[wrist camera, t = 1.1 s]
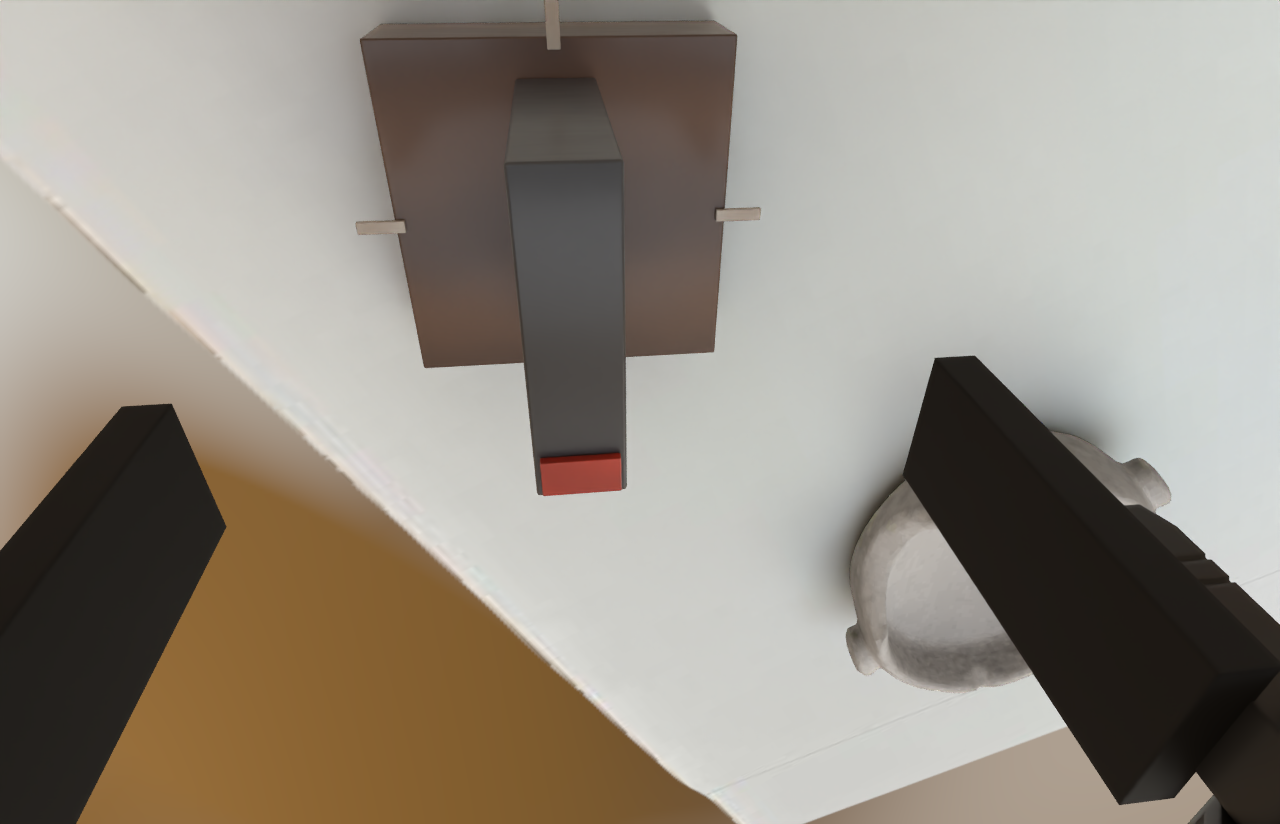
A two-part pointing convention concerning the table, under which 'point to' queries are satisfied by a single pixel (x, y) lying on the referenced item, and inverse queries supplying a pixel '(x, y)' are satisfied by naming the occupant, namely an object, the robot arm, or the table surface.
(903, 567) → the dish
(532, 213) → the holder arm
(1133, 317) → the table surface
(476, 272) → the stand
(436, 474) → the table surface
